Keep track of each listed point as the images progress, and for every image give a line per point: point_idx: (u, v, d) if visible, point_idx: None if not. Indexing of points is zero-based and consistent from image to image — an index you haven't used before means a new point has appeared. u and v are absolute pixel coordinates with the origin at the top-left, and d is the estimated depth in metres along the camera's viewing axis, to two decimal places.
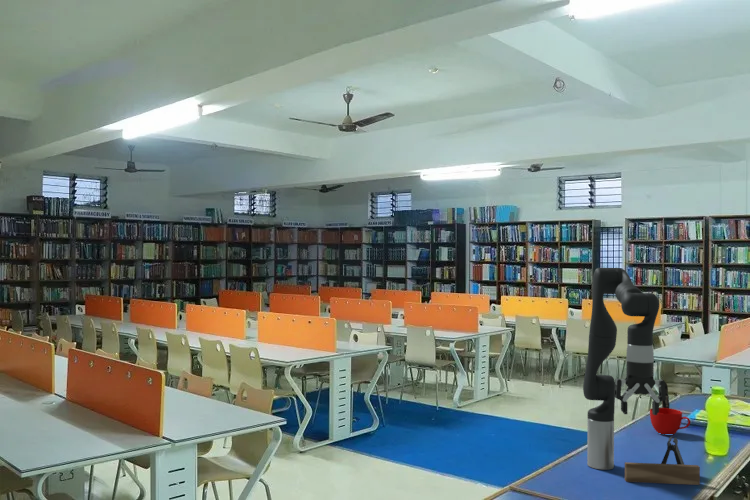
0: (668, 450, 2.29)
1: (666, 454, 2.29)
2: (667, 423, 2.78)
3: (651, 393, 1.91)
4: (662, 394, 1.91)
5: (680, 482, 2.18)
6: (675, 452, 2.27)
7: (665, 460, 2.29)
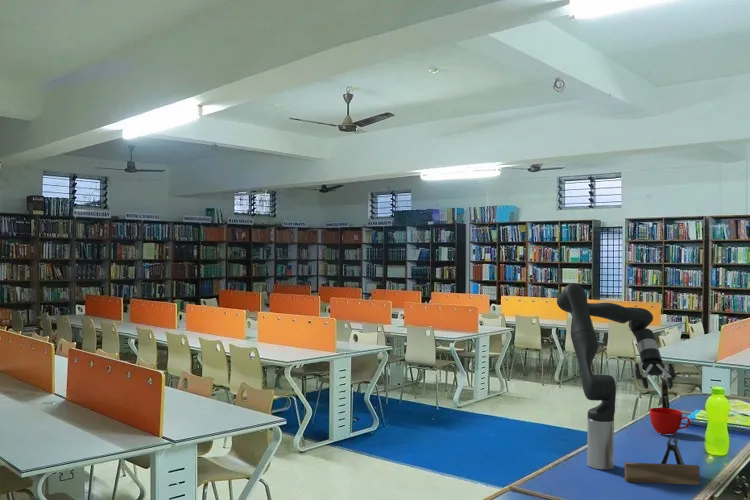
0: (668, 450, 2.29)
1: (666, 454, 2.29)
2: (667, 423, 2.78)
3: None
4: None
5: (680, 482, 2.18)
6: (675, 452, 2.27)
7: (665, 460, 2.29)
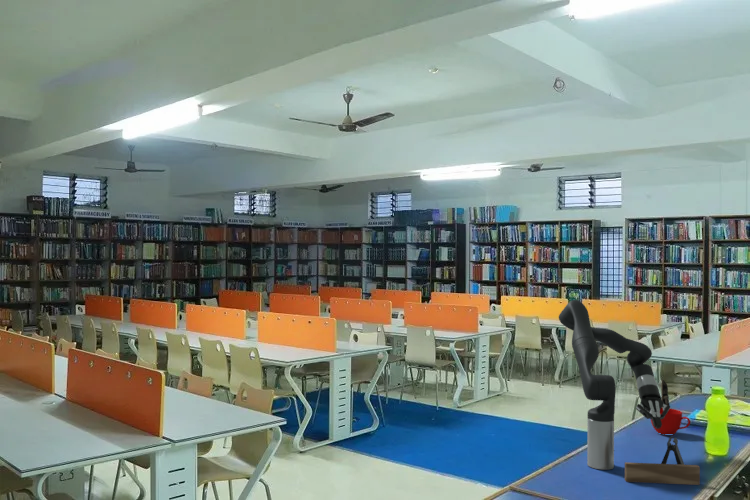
0: (668, 450, 2.29)
1: (666, 454, 2.29)
2: (667, 423, 2.78)
3: None
4: None
5: (680, 482, 2.18)
6: (675, 452, 2.27)
7: (665, 460, 2.29)
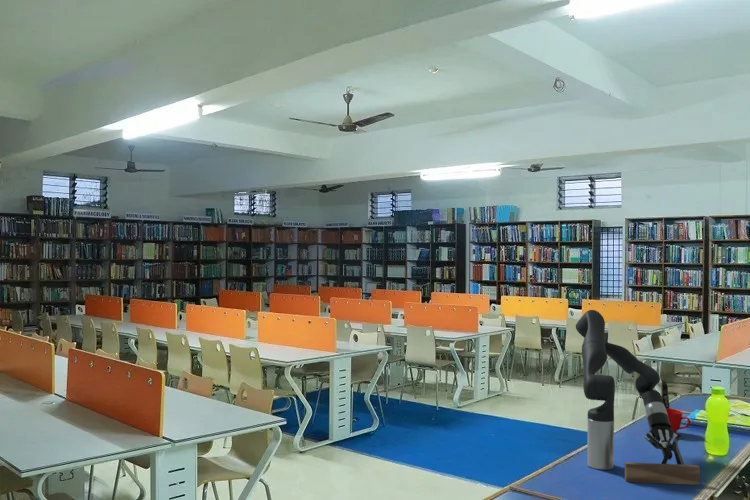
0: (668, 450, 2.28)
1: (666, 454, 2.29)
2: None
3: None
4: None
5: (680, 482, 2.18)
6: (675, 452, 2.27)
7: (665, 460, 2.29)
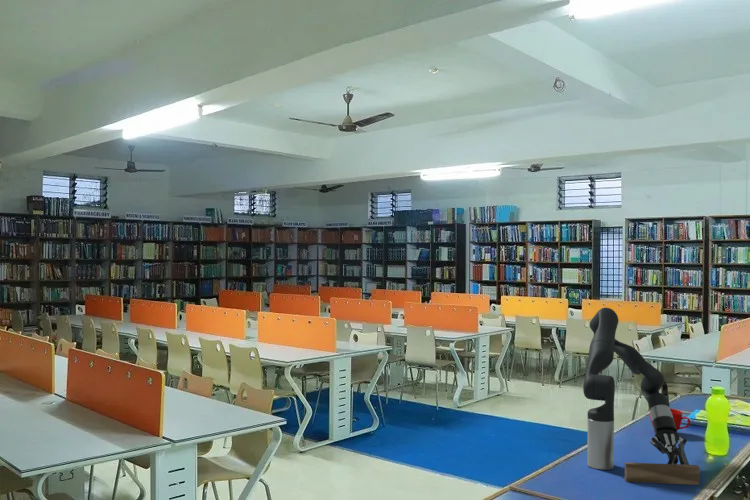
0: (673, 454, 2.23)
1: (671, 458, 2.24)
2: None
3: None
4: None
5: (680, 482, 2.18)
6: (680, 457, 2.22)
7: None
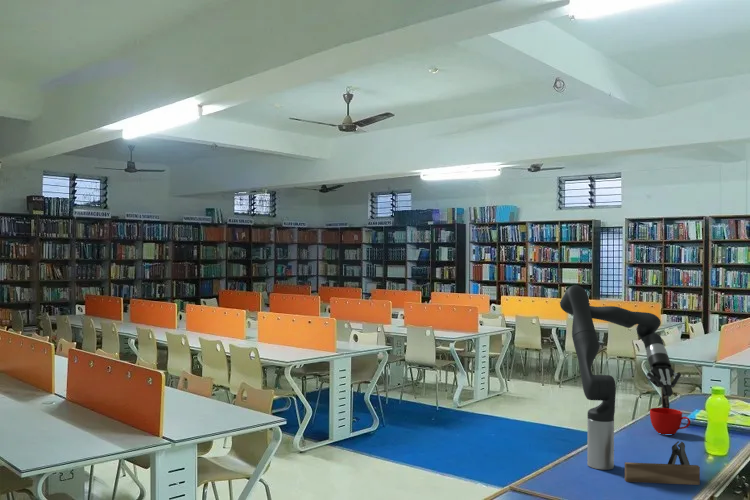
0: (673, 454, 2.23)
1: (671, 458, 2.24)
2: (667, 423, 2.78)
3: None
4: None
5: (680, 482, 2.18)
6: (680, 457, 2.22)
7: None
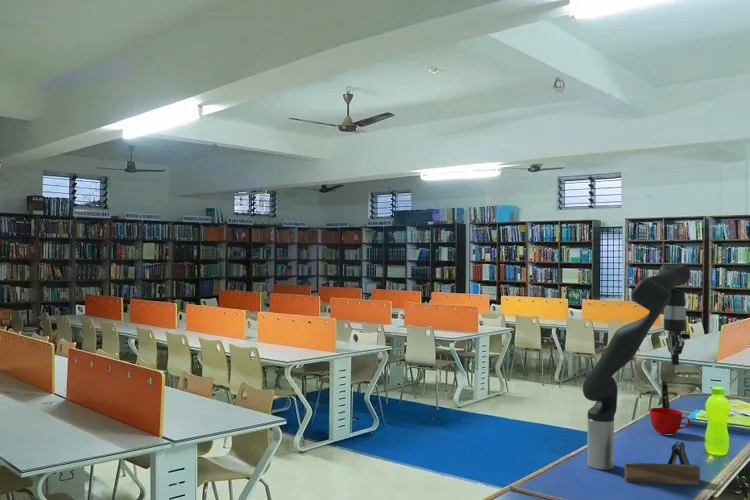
0: (673, 454, 2.23)
1: (671, 458, 2.24)
2: (667, 423, 2.78)
3: (671, 345, 2.39)
4: (674, 348, 2.37)
5: (680, 482, 2.18)
6: (680, 457, 2.22)
7: None
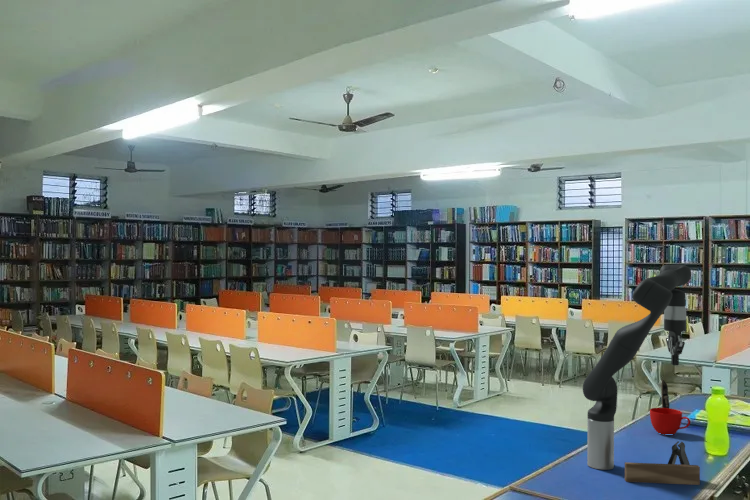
0: (673, 454, 2.23)
1: (671, 458, 2.24)
2: (667, 423, 2.78)
3: (671, 345, 2.39)
4: (674, 349, 2.37)
5: (680, 482, 2.18)
6: (680, 457, 2.22)
7: None
